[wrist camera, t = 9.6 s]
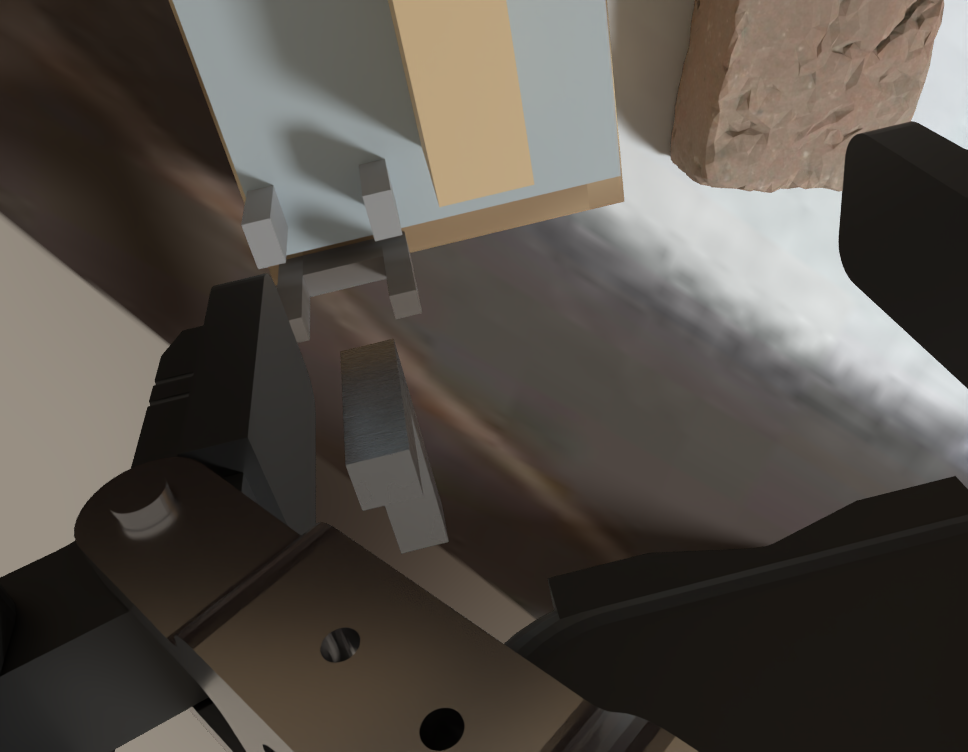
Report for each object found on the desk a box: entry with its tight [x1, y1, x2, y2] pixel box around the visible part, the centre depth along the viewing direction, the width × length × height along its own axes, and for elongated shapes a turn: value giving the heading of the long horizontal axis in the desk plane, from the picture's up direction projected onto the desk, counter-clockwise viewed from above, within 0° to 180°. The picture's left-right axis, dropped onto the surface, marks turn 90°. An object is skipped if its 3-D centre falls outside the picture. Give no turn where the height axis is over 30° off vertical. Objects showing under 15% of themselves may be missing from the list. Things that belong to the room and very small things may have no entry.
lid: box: [173, 0, 621, 269], centre depth 22 cm, size 11×11×6 cm
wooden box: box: [169, 0, 624, 343], centre depth 25 cm, size 14×12×11 cm
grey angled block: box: [340, 339, 449, 554], centre depth 28 cm, size 8×2×6 cm, turn 10°
